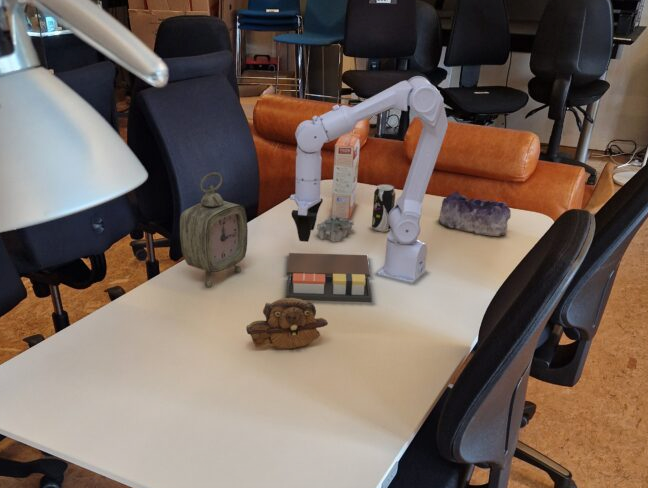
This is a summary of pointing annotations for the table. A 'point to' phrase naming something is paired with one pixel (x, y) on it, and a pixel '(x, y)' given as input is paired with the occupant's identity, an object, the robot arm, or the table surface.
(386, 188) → the beverage can
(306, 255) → the serving board
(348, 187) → the cracker box
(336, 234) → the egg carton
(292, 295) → the sushi tray
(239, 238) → the tabletop clock
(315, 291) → the salmon nigiri
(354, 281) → the tamago nigiri
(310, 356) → the table surface
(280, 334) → the wooden carving
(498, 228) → the geode
